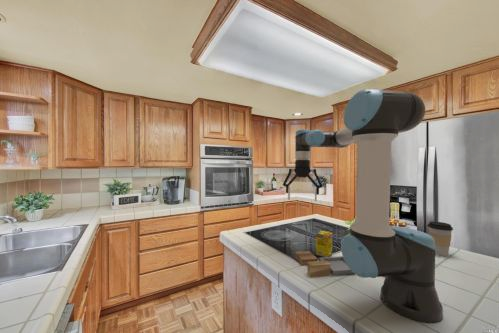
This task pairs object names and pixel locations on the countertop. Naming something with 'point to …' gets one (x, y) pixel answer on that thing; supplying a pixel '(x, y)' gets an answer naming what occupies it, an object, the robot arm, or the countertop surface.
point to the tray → (337, 266)
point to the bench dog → (319, 268)
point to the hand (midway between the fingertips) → (302, 200)
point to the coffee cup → (441, 237)
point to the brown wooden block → (305, 257)
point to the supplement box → (324, 244)
